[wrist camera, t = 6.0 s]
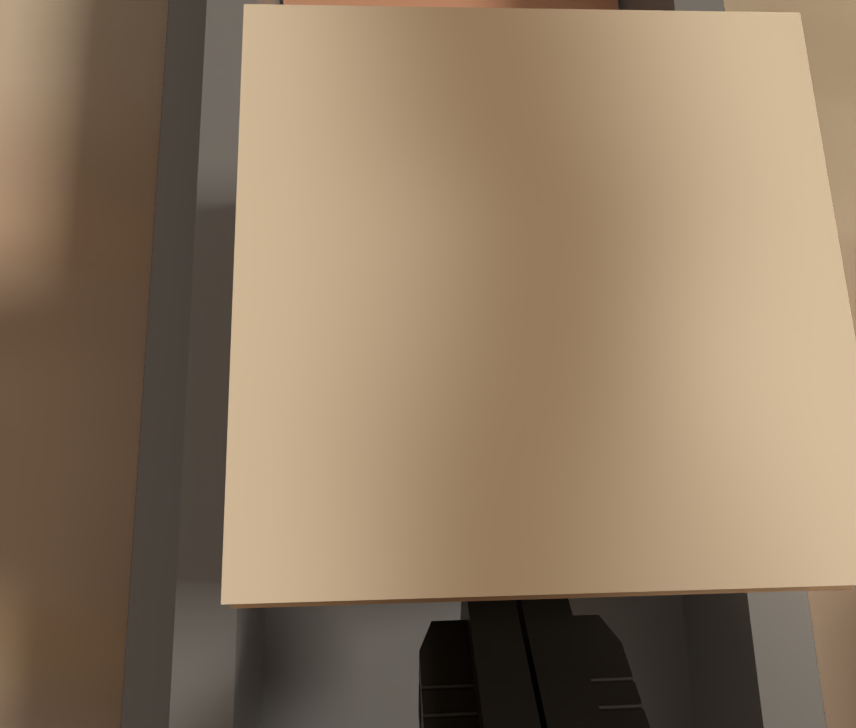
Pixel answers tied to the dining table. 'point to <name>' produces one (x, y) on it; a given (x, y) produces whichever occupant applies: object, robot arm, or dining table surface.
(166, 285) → the bay
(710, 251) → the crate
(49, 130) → the dining table surface
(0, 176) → the dining table surface
